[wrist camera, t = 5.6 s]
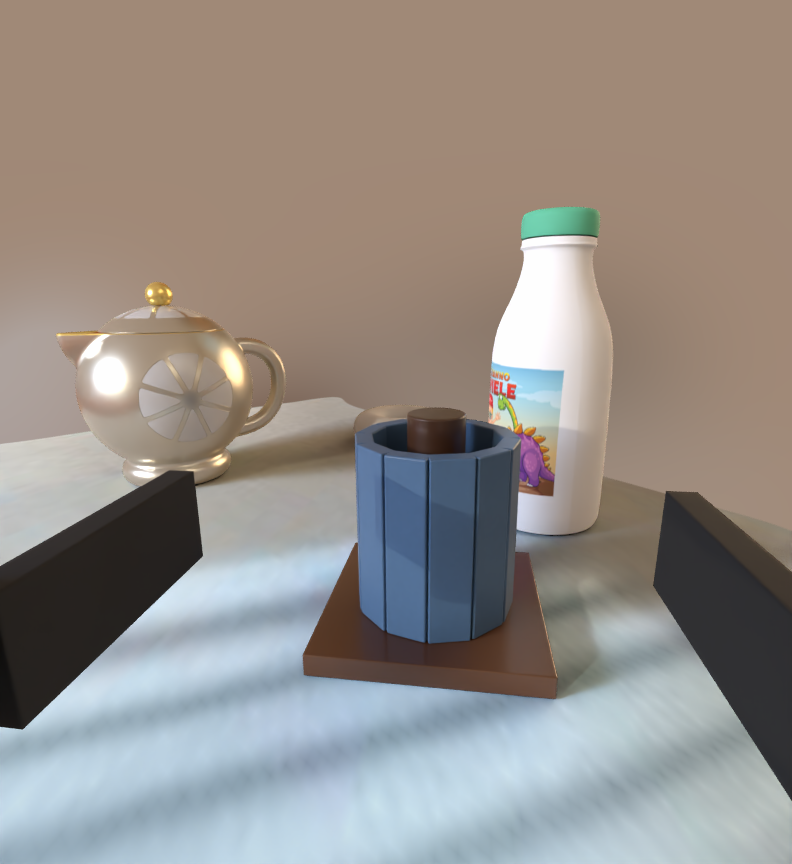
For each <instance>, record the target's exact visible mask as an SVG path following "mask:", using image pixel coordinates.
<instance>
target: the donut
mask: <svg viewBox="0 0 792 864" xmlns="http://www.w3.org/2000/svg"><path fill="white" fill-rule="evenodd" d="M421 408H426V407H421V406H414V405H413V406H412V405H389V406H379V407H374V408H370V409H367V410H365V411H363V412H362V413H360V414H359V415H358V416H357V418H356V420H355V423H354V433H355V434H356V433H357V432H359V431H361V430H363V429H365V428H367V427H369V426H371V425H373V424H377V423H382V422H387V421H393V420H399V419H407V414H408V412H410V411H412V410H416V409H421Z"/></svg>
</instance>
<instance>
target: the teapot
mask: <svg viewBox="0 0 792 864" xmlns="http://www.w3.org/2000/svg"><path fill="white" fill-rule="evenodd" d="M145 297H146V299H147V301H148V303H149V304H151V305H156V306H147V307H141V308H137V309H133V310H130V311H128V312H125V313H123V314H121V315H119V316H117V317H115V318H113V319H112V320H110V321H109V322H107V323H106V324H105V325H103V326H102V327H101V328H100V329H99V330H98V331H84V332H68V333H57V334H56V337H57V340H58V343H59V345H60V347H61V349H62V351H63V353H64V354H65V356H66V357H67V358H68V359H69V360H70V362H71V363H73V365H74V366H75V367H76V369H77V371H76V380H75V388H76V397H77V402H78V405H79V408H80V411H81V414H82V416H83V418H84V420H85V422H86V424H87V425H88V427H89V428H90V430H91V431H92V432H93V434H94V435H95V436H96V437H97V438H98V439H99V440H100V441H101V442H102V443H103V444H104V445H105V446H106V447H107V448H109V449H110V450H111V451H113V452H114V453H116V454H118V455H119V456H121V457H123V458H125V459H126V460H125V462H124V464H123V467H122V472H123V475H124V477H125V478H126V479H127V480H128V481H129V482H130V483H132V484H134V485H137V486H140V487H141V486H142V485H144V484H146V483H148V482H149V481H151V480H153V479H155V478H156V477H158V476H160V475H162V474H164V473H165V472H167V471H169V470H177V471H194V479H195V484H199V483H203V482H206V481H209V480H211V479H214V478H216V477H218V476H220V475H221V474H223V473H224V472H225V471H226V470H227V469H228V468H229V466H230V464H231V455H230V453H229V451H228V450H227V449H226V447H227V446H228V445H229V444H230V443H231V442H232V441H233V440H234V439H235V438H236V437H238V436H242V435H246V434H249V433H251V432H254V431H256V430H258V429H260V428H262V427H264V426H265V425H267V424H268V423H269V422H270V421H271V420H272V419H273V418H274V417H275V415H276V414H277V412H278V411H279V409H280V407H281V405H282V402H283V399H284V395H285V389H286V374H285V369H284V365H283V363H282V360H281V358H280V357H279V355H278V354H277V353H276V351H274V349H273V348H271V347H270V346H269V345H267V344H266V343H264V342H262V341H259V340H256V339H252V338H233V337H232V336H231V335H230V334H229V333H228V332H227V331H226V330H225V329H223V328H222V327H221V326H220V325H219V324H217V323H216V322H214V321H213V320H211V319H210V318H208V317H206V316H204V315H202V314H200V313H198V312H195V311H192V310H189V309H185V308H181V307H175V306H165V305H169V304H170V303H171V301H172V297H173V295H172V291H171V289H170V288H169V287H168V286H167V285H166V284H164V283H161V282H153V283H151V284H149V285H148V286H147V288H146V290H145ZM245 354H251V355H254V356H257V357H259V358H260V359H262V360H263V361H264V362H265V363H266V365H267V366H268V369H269V371H270V375H271V389H270V394H269V397H268V399H267V402H266V404H265V405H264V406H263V408H262V409H261V410H260V411H259V412H258V413H256V414H254V415H253V416H250V417H248V415H249V412H250V409H251V404H252V398H253V382H252V375H251V371H250V367H249V365H248V362H247V359H246V357H245Z"/></svg>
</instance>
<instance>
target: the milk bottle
mask: <svg viewBox="0 0 792 864" xmlns="http://www.w3.org/2000/svg"><path fill="white" fill-rule="evenodd" d="M521 228H522V229H521V238H522V240H523V241H522V247H521V248H520V249H521V250H522V251H523V252H524V263H523V268H522V272H521V276H520V279H519V282H518V284H517V287H516V290H515V292H514V295H513V297H512V299H511V301H510V303H509V305H508V307H507V309H506V311H505V313H504V315H503V317H502V320H501V322H500V325H499V328H498V331H497V334H496V338H495V342H494V349H493V356H492V368H491V382H490V402H489V422H488V423H491V424H495V425H499V426H503V427H506V428H508V429H510V430H511V431H512V432H514V433H515V434H516V435H518V436H519V437H520V438H521V457H520V475H519V493H518V511H517V530H520V531H525V532H530V533H536V534H544V535H563V534H571V533H577V532H580V531H584V530H586V529H588V528H590V527H591V526H592V525H593V524H594V522H595V521H596V519H597V517H598V513H599V505H600V497H601V488H602V478H603V468H604V458H605V448H606V438H607V426H608V416H609V405H610V394H611V383H612V364H613V342H612V334H611V329H610V325H609V321H608V318H607V315H606V312H605V310H604V307H603V305H602V302H601V299H600V296H599V293H598V290H597V286H596V282H595V277H594V271H593V263H592V258H593V251H594V249H595V248H597V247H598V245H597V237H598V234H599V228H600V213H599V212H598V211H597V210H595V209H591V208H584V207H558V208H548V209H540V210H535V211H532V212H529V213H527V214H525V215H524V216H523V219H522V227H521Z"/></svg>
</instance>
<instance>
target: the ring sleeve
mask: <svg viewBox="0 0 792 864" xmlns="http://www.w3.org/2000/svg"><path fill="white" fill-rule="evenodd" d="M520 457H521V438H520V437H519V436H518V435H516V434H515V433H514V432H512V431H511V430H510V429H508V428H506V427H503V426H499V425H495V424H491V423H487V422H483V421H477V420H469V419H466V446H465V453H459V454H433V455H427V454H419V453H411V452H407V419H399V420H393V421H387V422H382V423H377V424H373V425H371V426H369V427H367V428H365V429H363V430H361V431H359V432H357V433H356V434H355V462H356V497H357V531H358V566H359V594H360V608H361V610H362V612H363V613H364V614H365V615H366V616H367V617H368V618H369V619H370V620H372V621H373V622H374V623H375V624H376V625H377V626H378V627H379V628H381V629H382V630H383V631H386V630H387V633H390V634H393V635H397V636H401V637H404V638H408V639H412V640H415V641H419V642H422V643H425V642H426V640H428V643H429V644H433V643H446V642H460V641H470V638H472V639H475V638H477V637H479V636H481V635H483V634H485V633H487V632H489V631H491V630H492V629H494V628H496V627H498V626H500V625H502V622H504V621H505V619H506V617H507V614H508V612H509V609H510V606H511V604H512V601H513V583H514V565H515V547H516V529H517V511H518V493H519V475H520Z"/></svg>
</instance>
